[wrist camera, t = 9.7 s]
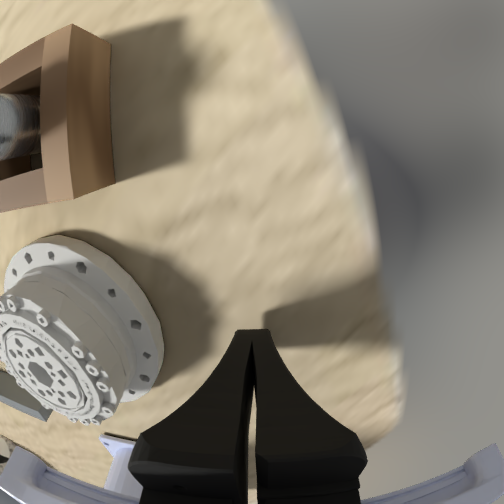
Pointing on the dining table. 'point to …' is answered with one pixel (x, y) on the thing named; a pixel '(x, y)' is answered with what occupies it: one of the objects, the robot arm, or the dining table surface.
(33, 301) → the mechanical component
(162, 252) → the dining table surface
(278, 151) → the dining table surface
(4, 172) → the hollow wooden square
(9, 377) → the grey u-shaped bracket
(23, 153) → the pin
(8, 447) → the mug
